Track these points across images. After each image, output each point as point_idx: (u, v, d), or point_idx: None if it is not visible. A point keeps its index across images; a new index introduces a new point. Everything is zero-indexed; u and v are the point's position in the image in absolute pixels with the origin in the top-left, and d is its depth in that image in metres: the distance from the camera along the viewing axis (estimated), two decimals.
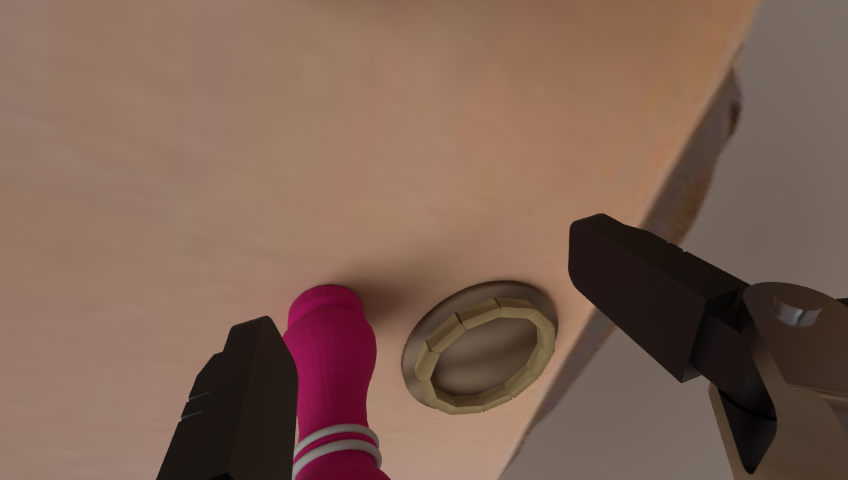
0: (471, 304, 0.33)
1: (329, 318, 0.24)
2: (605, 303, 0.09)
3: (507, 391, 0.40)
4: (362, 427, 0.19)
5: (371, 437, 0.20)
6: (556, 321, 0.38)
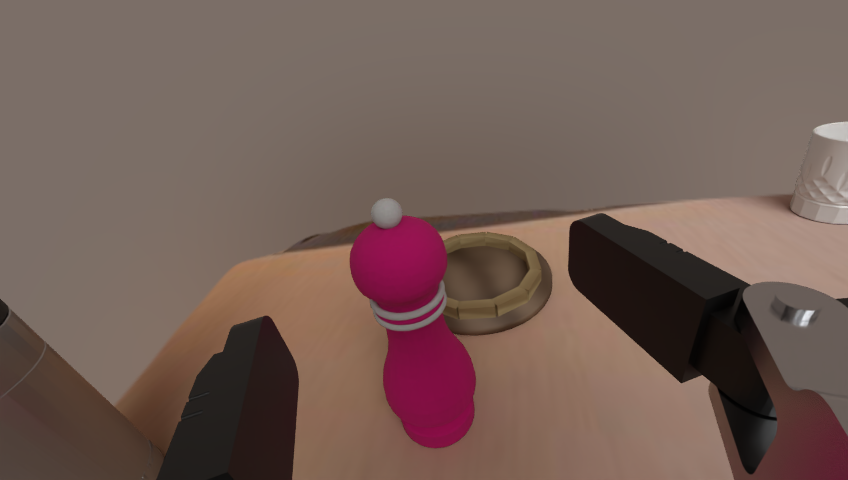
0: None
1: None
2: (605, 303, 0.09)
3: (509, 243, 0.45)
4: None
5: None
6: None
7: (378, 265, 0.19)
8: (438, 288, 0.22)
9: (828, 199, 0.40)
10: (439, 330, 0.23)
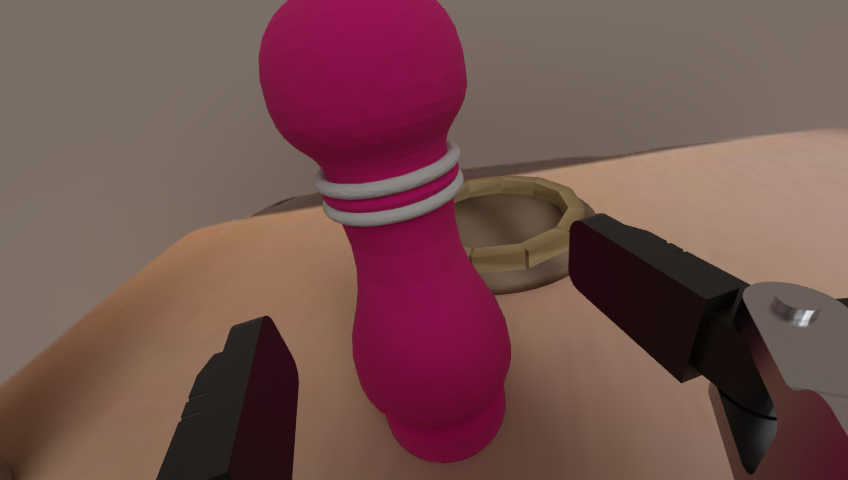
0: None
1: None
2: (605, 303, 0.09)
3: (534, 185, 0.34)
4: None
5: None
6: None
7: (306, 30, 0.08)
8: (447, 149, 0.11)
9: None
10: (450, 240, 0.12)
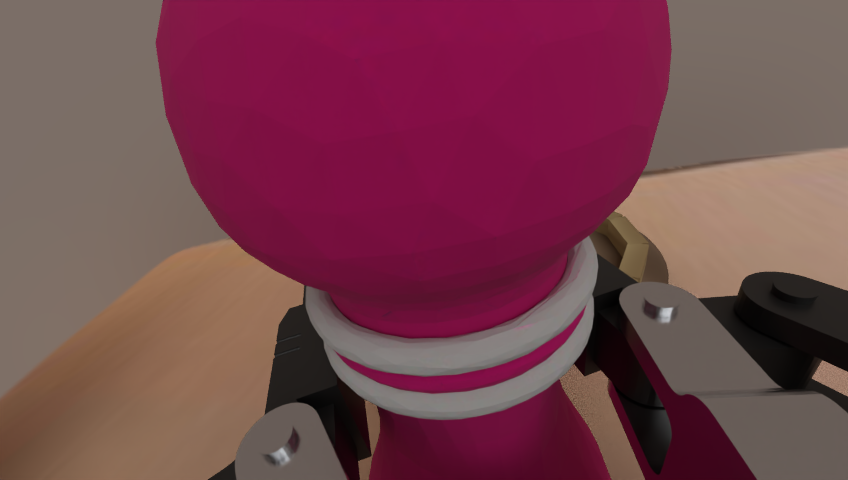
0: None
1: None
2: None
3: None
4: None
5: None
6: None
7: None
8: None
9: None
10: (555, 389, 0.07)
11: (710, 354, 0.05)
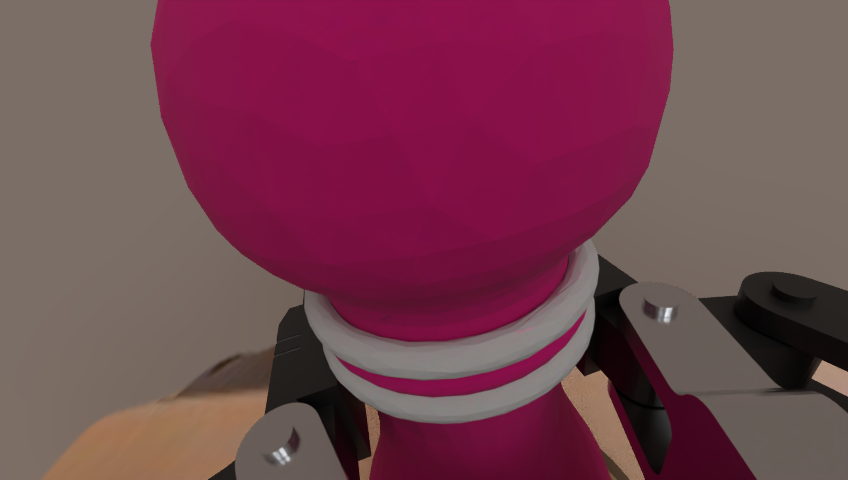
0: None
1: None
2: None
3: None
4: None
5: None
6: None
7: None
8: None
9: None
10: (555, 392, 0.07)
11: (711, 354, 0.05)
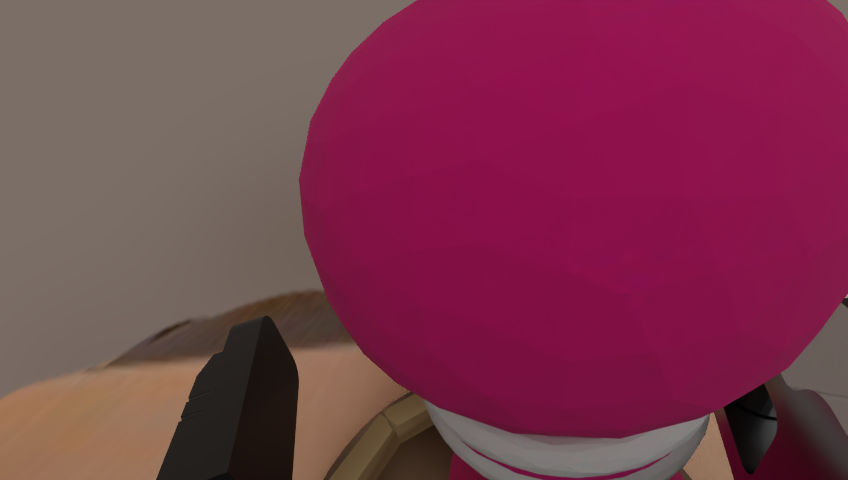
0: None
1: None
2: None
3: None
4: None
5: None
6: (402, 398, 0.21)
7: (511, 181, 0.02)
8: None
9: None
10: None
11: None
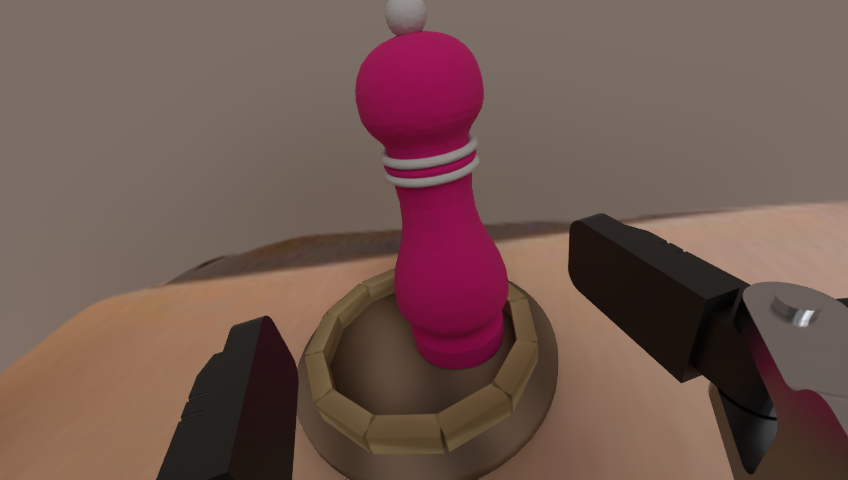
0: None
1: None
2: (605, 303, 0.09)
3: None
4: None
5: None
6: None
7: (396, 68, 0.14)
8: (469, 139, 0.17)
9: None
10: (469, 201, 0.18)
11: None
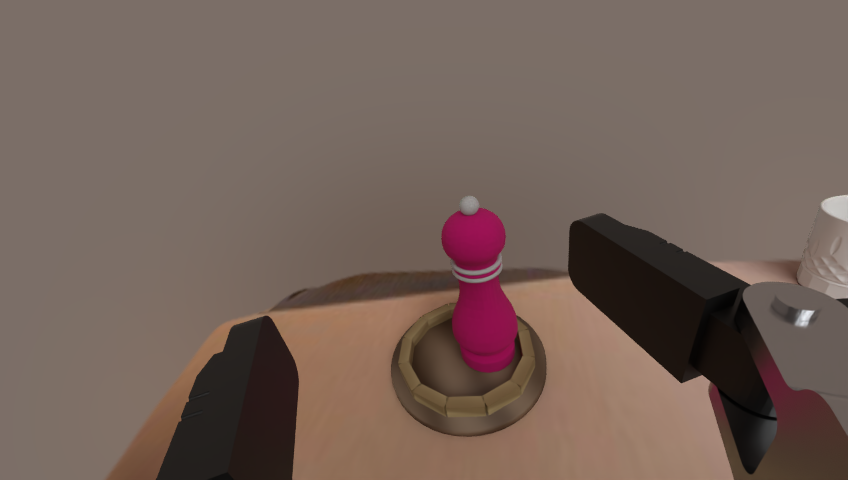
0: (407, 388, 0.38)
1: (452, 327, 0.38)
2: (605, 303, 0.09)
3: None
4: None
5: None
6: None
7: (467, 237, 0.30)
8: (497, 255, 0.33)
9: (838, 278, 0.38)
10: (497, 284, 0.34)
11: None
